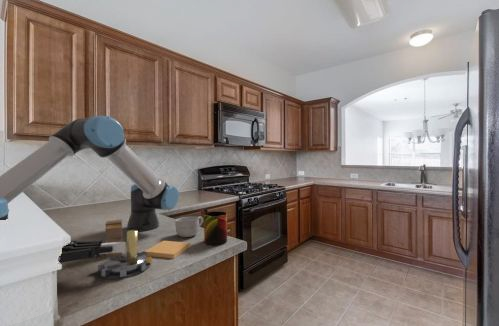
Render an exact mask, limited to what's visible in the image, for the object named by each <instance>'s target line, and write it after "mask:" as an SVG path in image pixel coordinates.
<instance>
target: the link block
mask: <svg viewBox="0 0 499 326" xmlns="http://www.w3.org/2000/svg"><path fill="white" fill-rule="evenodd" d="M113 242H123V219H112V220H106V222H105V243H113ZM121 254H123V252H120V253H108V254H105V258H108V257H110V256H117V255H121Z"/></svg>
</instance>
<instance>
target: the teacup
mask: <svg viewBox="0 0 499 326" xmlns="http://www.w3.org/2000/svg"><path fill="white" fill-rule="evenodd" d="M174 223H175V232H176V234H177V235H178V236H179V237H181V238H189V237H190V238H191V237H194V236H196V235H197V233H198V232H199V231H200V230H199V229H200V227H201V226H202V225H203V224H204V218H203V216H191V215H190V216H183V217H179V218H176V219H175V220H174Z"/></svg>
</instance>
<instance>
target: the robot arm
mask: <svg viewBox="0 0 499 326" xmlns="http://www.w3.org/2000/svg"><path fill="white" fill-rule="evenodd" d="M126 143H127V139H126V137H125V133H124V128H123V126H122V124H121V123H120V122H119V121H117V120H116V119H115V118H113V117H111V116H107V115H106V116H105V115H95V116H94V115H93V116H91V117H90V116H89V117H84V118H83V117H81V118H77V119H75V120H72V121H71V122H69V123H67V124H66V125H64V126H63V127H62V128H60V129H59V130H57V131H56V132H55V133H53V134H52V135H50V136H49V137H48V141H47V142H46V143H45V144H44V145H42V146H40V147H39V148H38V149H36V150H35V151H33V152H32V153H31V154H29V155H28V156H26V157H25V158H23V160H21V161H19V162H18V163H17V164H15V165H14V166H12V167H11V168H10V169H8V170H6V171H5V172H4V173H3V174H1V175H0V220H6V219H8V220H9V212H10V209H9V203H11V202H12V201H14V199H15V198H17V197H18V196H20V195H21V194H22V193H24V192H25V191H26V190H27V189H29V188H30V187H31V186H32V185H33V184H35V183H36V182H37V181H38V180H39V179H41V178H42V177H43V176H45V175H46V174H47V173H48V172H50V171H51V170H52V169H53V168H55V167H56V166H57V165H58V164H60V163H61V162H63V160H65V159H66V158H67V157H73V156H75V155H76V154H78V152H80V151H83V150H87V149H91V150H92V151H93V152H94V153H96V155H98V156H99V157H100V158H102V159H103V158H104V159H105V158H106V159H108V160H109V161H110V162H111V163H112V164H114V166H115V167H116V168H118V170H119V171H121V172H122V173H123V174H124V175H125V176H126V177H127V178H128V179H129V180H130V181H131V182H133V184H132V185H131V187H130V193H129V194H130V215H129V219H128V221H127V224H126V226H127V227H126V230H127V231H129V230H138V232H146V231H150V230H154V229H157V228H158V227H160V221H159V218H158V216H157V215H158V214H157V213H156V212H157V211H156V210H162V211H171V210H173V209H174V208H175V207H176V206H177V205H178V202H179V199H180V198H179V197H180V192H179V189H178V188H177V186H173V185H168V183H167V182H166V181H165V180H164V179H162V178H158V177H157V176H156V175H155V174H154V173H153V171H151V170H150V169H149V168H148V166H147V165H145V163H144V162H143V161H142V160H141V159H140V158H139V157H138V156H137V155H136V154H135V152H134V151H133V150H132V149H131V148H130V147H129V146H128V145H127V144H126ZM70 241H71V242H70V243H67V244H68V245H66V246H64V247H63V248H62V254H61V256H59V258H58V261H59V262H60V263H59V264H63V263H69V262H73V261H75V262H76V261H81V260H87V259H94V258H95V257H96V259H98V258H100V257H101V255H106V254H108V253H120V252H122V253H126V252H127V241H122V242H113V243H106V242H104V241H103V240H86V241H84V240H70Z"/></svg>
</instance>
